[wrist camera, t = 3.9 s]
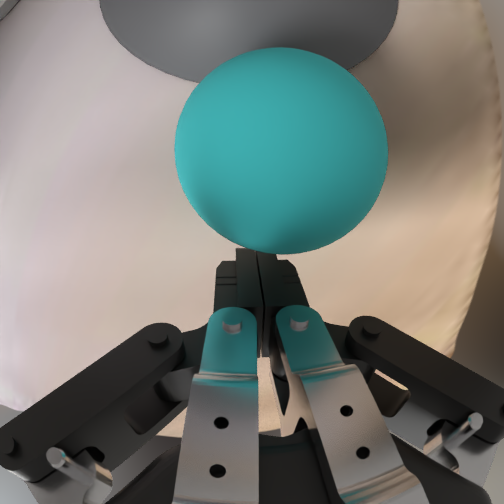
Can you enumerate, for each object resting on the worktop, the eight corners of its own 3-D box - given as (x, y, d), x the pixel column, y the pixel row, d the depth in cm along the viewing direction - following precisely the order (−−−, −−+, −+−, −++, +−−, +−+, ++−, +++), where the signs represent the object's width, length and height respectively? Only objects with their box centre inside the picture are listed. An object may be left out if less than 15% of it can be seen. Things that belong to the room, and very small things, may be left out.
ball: (142, 260, 4) (195, -13, 4) (173, 240, 10) (191, 93, 10) (429, 274, 5) (419, 55, 5) (322, 251, 11) (330, 116, 11)
